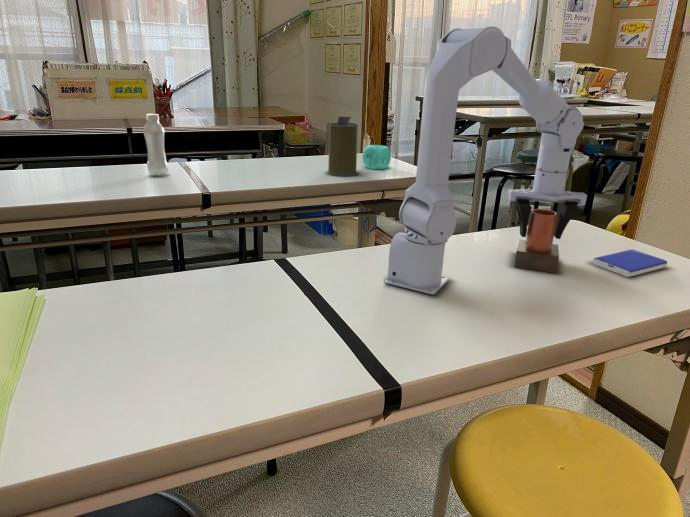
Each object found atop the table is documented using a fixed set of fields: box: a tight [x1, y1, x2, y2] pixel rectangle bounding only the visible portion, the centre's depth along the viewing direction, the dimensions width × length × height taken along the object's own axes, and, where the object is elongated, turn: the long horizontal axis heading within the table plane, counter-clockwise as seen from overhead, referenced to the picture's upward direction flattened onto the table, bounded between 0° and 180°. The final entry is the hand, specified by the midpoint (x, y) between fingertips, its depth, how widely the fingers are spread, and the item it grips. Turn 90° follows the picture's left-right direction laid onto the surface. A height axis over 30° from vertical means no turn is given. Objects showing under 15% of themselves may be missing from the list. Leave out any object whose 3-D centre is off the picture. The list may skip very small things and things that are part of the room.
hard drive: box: [592, 248, 668, 278], centre depth 106 cm, size 2×8×12 cm
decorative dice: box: [362, 144, 392, 170], centre depth 197 cm, size 8×8×8 cm
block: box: [513, 239, 560, 274], centre depth 106 cm, size 8×8×4 cm
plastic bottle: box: [142, 113, 169, 177], centre depth 170 cm, size 6×7×20 cm
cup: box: [525, 208, 558, 252], centre depth 104 cm, size 5×5×8 cm
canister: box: [326, 115, 359, 177], centre depth 182 cm, size 11×10×20 cm
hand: (539, 236), depth 104 cm, fingers open, 6 cm apart
